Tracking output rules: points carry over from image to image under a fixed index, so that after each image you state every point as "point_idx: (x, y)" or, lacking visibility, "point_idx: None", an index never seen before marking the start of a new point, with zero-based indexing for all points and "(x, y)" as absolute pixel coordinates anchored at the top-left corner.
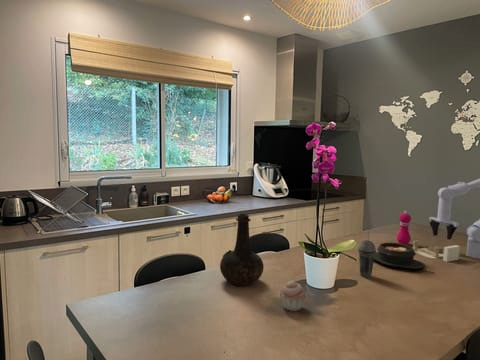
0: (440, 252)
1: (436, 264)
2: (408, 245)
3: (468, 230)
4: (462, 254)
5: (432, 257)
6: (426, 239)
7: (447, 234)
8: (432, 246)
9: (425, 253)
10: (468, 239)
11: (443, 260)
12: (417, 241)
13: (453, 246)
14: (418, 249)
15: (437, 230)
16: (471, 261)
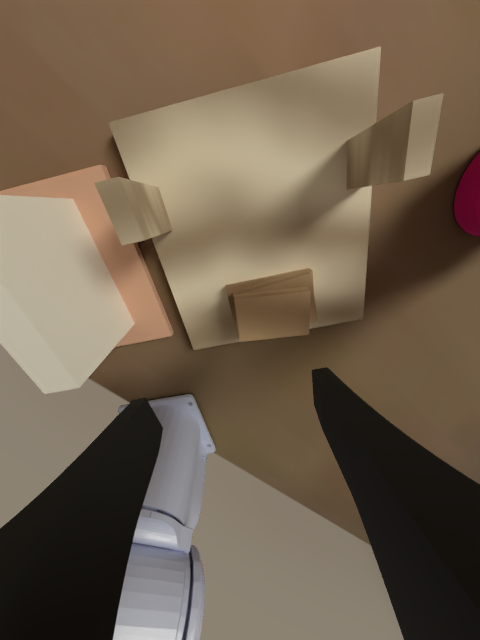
0: (232, 314)
1: (11, 85)
2: (469, 202)
3: (169, 625)
4: (222, 413)
5: (142, 163)
6: (467, 424)
7: (101, 452)
8: (297, 309)
9: (251, 190)
10: (143, 515)
11: (63, 200)
12: (400, 168)
13: (16, 336)
14: (354, 215)
15: (343, 469)
16: (116, 380)
